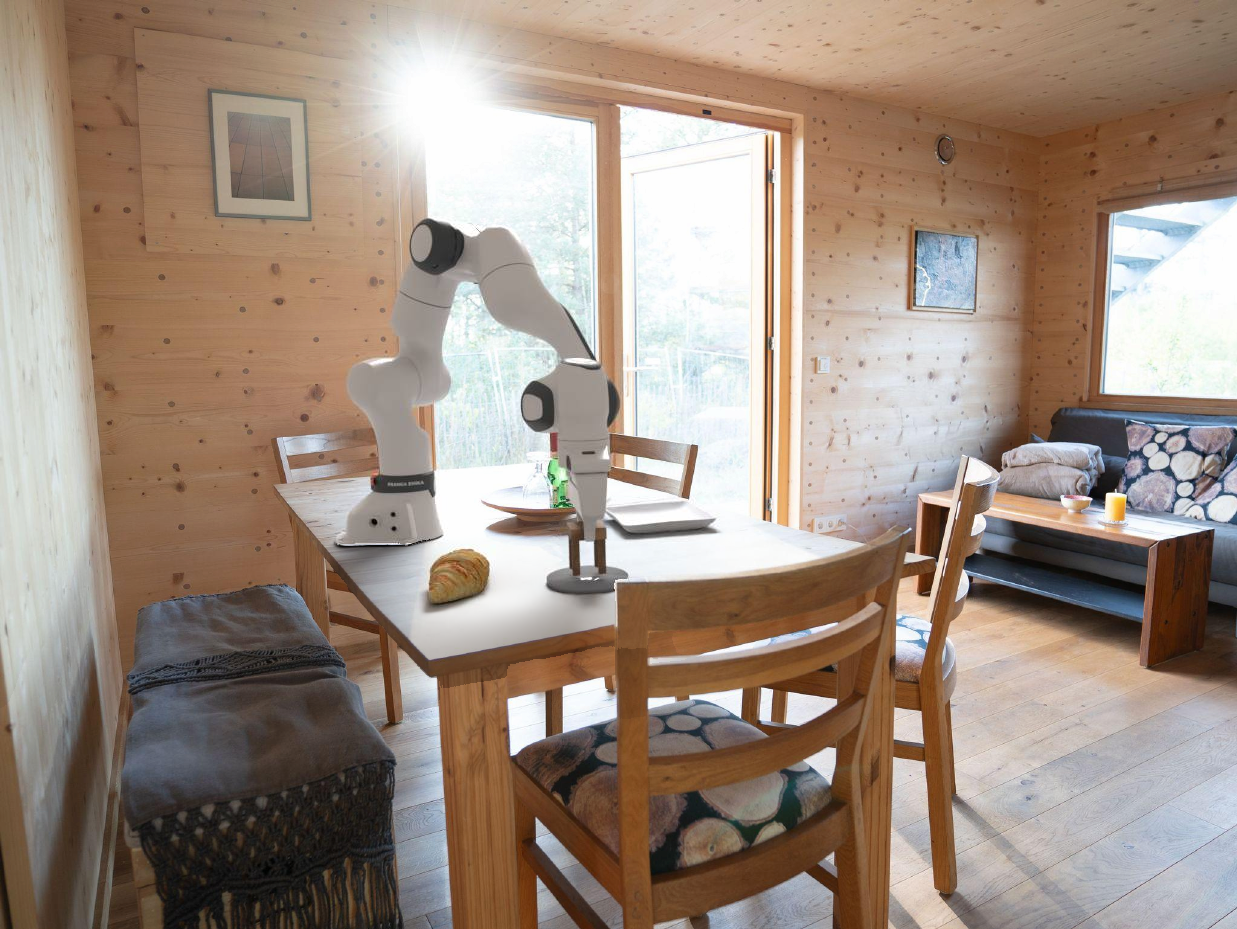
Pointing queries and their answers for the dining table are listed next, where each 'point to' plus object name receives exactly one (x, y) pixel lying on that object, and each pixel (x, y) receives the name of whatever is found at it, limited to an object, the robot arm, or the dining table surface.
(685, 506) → the salad plate
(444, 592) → the croissant
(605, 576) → the grey flat disc
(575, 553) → the stool
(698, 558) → the dining table surface
